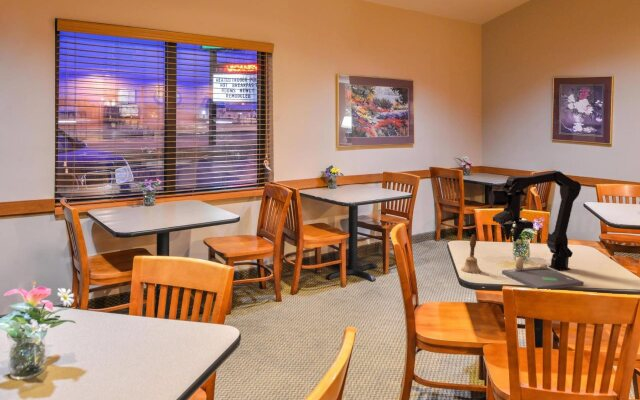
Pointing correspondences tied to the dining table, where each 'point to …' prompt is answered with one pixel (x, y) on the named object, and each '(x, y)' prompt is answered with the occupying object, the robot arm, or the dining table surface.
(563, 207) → the robot arm
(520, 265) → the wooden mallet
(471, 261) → the hand bell
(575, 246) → the dining table surface
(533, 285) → the grey flat square slab
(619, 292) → the dining table surface
